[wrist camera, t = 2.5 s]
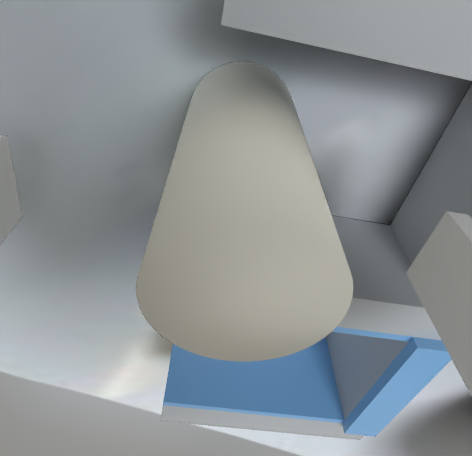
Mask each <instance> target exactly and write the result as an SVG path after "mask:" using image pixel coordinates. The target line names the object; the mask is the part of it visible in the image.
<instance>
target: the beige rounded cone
mask: <svg viewBox="0 0 472 456" xmlns="http://www.w3.org/2000/svg"><path fill="white" fill-rule="evenodd" d="M136 294H137V300H138V304H139V307H140V309H141V311H142V313H143V315H144V317H145V318H146V320H147V321H148V323H149V324H150V325H151V326H152V327H153V328H154V330H155V331H157V332H158V333H159V334H160V335H161V336H162V337H164V338H165V339H167V340H168V341H170V342H171V343H173V344H175V345H176V346H178V347H180V348H182V349H184V350H187V351H189V352H192V353H195V354H198V355H201V356H204V357H208V358H213V359H218V360H225V361H237V362H250V361H263V360H269V359H275V358H279V357H284V356H287V355H290V354H294V353H296V352H299V351H301V350H304V349H306V348H308V347H310V346H312V345H314V344H316V343H317V342H319V341H320V340H322V339H323V338H325V337H326V336H327V335H328V334H329V333H331V332H332V331H333V330H334V329H335V328H336V327H337V326H338V325H339V324H340V322H341V321H342V319H343V318H344V317H345V315H346V313H347V311H348V309H349V307H350V304H351V300H352V297H353V279H352V275H351V272H350V269H349V265H348V263H347V260H346V257H345V254H344V251H343V248H342V245H341V242H340V239H339V236H338V233H337V230H336V227H335V224H334V221H333V218H332V215H331V212H330V209H329V207H328V204H327V201H326V198H325V195H324V192H323V189H322V186H321V183H320V180H319V177H318V174H317V171H316V168H315V165H314V162H313V159H312V156H311V153H310V150H309V148H308V145H307V142H306V139H305V136H304V133H303V130H302V127H301V124H300V121H299V118H298V115H297V112H296V109H295V106H294V103H293V100H292V97H291V94H290V92H289V90H288V88H287V86H286V85H285V83H284V82H283V81H282V79H281V78H280V77H279V76H278V75H277V74H275V73H274V72H273V71H271V70H270V69H268V68H267V67H264V66H262V65H260V64H256V63H253V62H246V61H238V62H231V63H227V64H224V65H222V66H219V67H217V68H215V69H214V70H212V71H211V72H209V73H208V74H207V75H206V76H205V77H204V78H203V79H202V80H201V81H200V83H199V84H198V85H197V87H196V89H195V91H194V93H193V95H192V98H191V101H190V105H189V108H188V111H187V115H186V118H185V121H184V125H183V128H182V131H181V135H180V138H179V141H178V144H177V148H176V151H175V154H174V158H173V161H172V164H171V168H170V171H169V174H168V178H167V181H166V184H165V188H164V191H163V194H162V197H161V201H160V204H159V207H158V211H157V214H156V217H155V221H154V224H153V227H152V231H151V234H150V237H149V240H148V244H147V247H146V250H145V254H144V257H143V260H142V264H141V267H140V270H139V274H138V277H137V284H136Z"/></svg>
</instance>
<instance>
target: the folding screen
mask: <svg viewBox="0 0 472 456" xmlns="http://www.w3.org/2000/svg"><path fill="white" fill-rule="evenodd" d="M221 25H222V26H227V27H231V28H236V29H240V30H245V31H249V32H254V33H258V34H263V35H267V36H272V37H276V38H281V39H285V40H290V41H294V42H299V43H303V44H308V45H312V46H317V47H321V48H326V49H330V50H335V51H339V52H344V53H348V54H353V55H357V56H362V57H366V58H371V59H375V60H380V61H384V62H389V63H393V64H398V65H402V66H407V67H411V68H416V69H420V70H425V71H429V72H434V73H438V74H443V75H447V76H452V77H456V78H461V79H465V80H470V81H472V0H224V6H223V13H222V20H221ZM446 211H449V212H455V213H461V214H467V215H469V216H470V217H471V218H472V84H471V86H470V88H469V89H468V91H467V93H466V95H465V96H464V98H463V100H462V102H461V103H460V105H459V107H458V108H457V110H456V112H455V114H454V115H453V117H452V119H451V121H450V122H449V124H448V126H447V128H446V129H445V131H444V133H443V135H442V136H441V138H440V140H439V141H438V143H437V145H436V147H435V148H434V150H433V152H432V154H431V155H430V157H429V159H428V161H427V162H426V164H425V166H424V168H423V169H422V171H421V173H420V174H419V176H418V178H417V180H416V181H415V183H414V185H413V187H412V188H411V190H410V192H409V194H408V195H407V197H406V199H405V201H404V202H403V204H402V206H401V207H400V209H399V211H398V213H397V214H396V216H395V218H394V220H393V221H392V223H391V225H385V224H379V223H373V222H367V221H361V220H355V219H349V218H343V217H337V216H332V218H333V221H334V224H335V227H336V230H337V233H338V236H339V239H340V242H341V245H342V248H343V251H344V254H345V257H346V260H347V263H348V265H349V269H350V272H351V275H352V279H353V297H352V300H351V304H350V307H349V309H348V311H347V313H346V315H345V317H344V318H343V319H342V321H341V322H340V324H339V325H338V326H337V327H336V328H335V329H334V330H333V331H332V332H331V333H329V334H328V335H327V336H326V337H325V338H323V339H322V340H320V341H319V342H317V343H316V344H314V345H312V346H310V347H308V348H306V349H304V350H301V351H299V352H296V353H294V354H290V355H287V356H284V357H279V358H275V359H269V360H263V361H250V362H237V361H225V360H218V359H213V358H208V357H204V356H201V355H198V354H195V353H192V352H189V351H187V350H184V349H182V348H180V347H178V346H176V345H175V344H173V347H172V353H171V359H170V366H169V372H168V378H167V384H166V390H165V396H164V402H163V409H162V415H161V421H167V422H178V423H188V424H199V425H209V426H219V427H230V428H240V429H251V430H261V431H272V432H282V433H293V434H303V435H314V436H324V437H335V438H345V439H356V440H360V439H361V438H362V437H363V436H364V435H365V436H376V435H377V434H378V433H379V432H380V431H381V430H382V429H383V428H384V427H385V426H386V425H387V424H388V423H389V422H390V421H391V420H392V419H393V418H394V417H395V416H396V415H397V414H398V413H399V412H400V411H401V410H402V409H403V408H404V407H405V406H406V405H407V404H408V403H409V402H410V401H411V400H412V399H413V398H414V397H415V396H416V395H417V394H418V393H419V392H420V391H421V390H422V389H423V388H424V387H425V386H426V385H427V384H428V383H429V382H430V381H431V380H432V379H433V378H434V377H435V376H436V375H437V373H438V372H439V371H440V370H441V369H442V368H443V367H444V366H445V365H446V364H447V363H448V362H449V361H450V360H451V357H450V355H449V353H448V351H447V349H446V347H445V346H444V344H443V342H442V340H441V338H440V336H439V334H438V332H437V331H436V329H435V327H434V325H433V323H432V321H431V319H430V317H429V315H428V314H427V312H426V310H425V308H424V306H423V304H422V302H421V300H420V299H419V297H418V295H417V293H416V291H415V289H414V287H413V285H412V284H411V282H410V280H409V278H408V276H407V274H406V272H407V270H408V269H409V267H410V266H411V264H412V263H413V261H414V260H415V258H416V257H417V255H418V254H419V252H420V251H421V249H422V248H423V246H424V245H425V243H426V242H427V240H428V239H429V237H430V236H431V234H432V233H433V231H434V230H435V228H436V227H437V225H438V223H439V222H440V220H441V219H442V217H443V216H444V214H445V213H446Z"/></svg>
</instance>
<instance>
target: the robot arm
mask: <svg viewBox="0 0 472 456" xmlns="http://www.w3.org/2000/svg"><path fill="white" fill-rule="evenodd" d="M22 217H23V216H22V211H21V206H20V200H19V195H18V190H17V185H16V179H15V174H14V169H13V164H12V158H11V153H10V148H9V143H8V137H7V136H5V135H0V245H1V244H2V242H3V241H4V240H5V239H6V237H7V236H8V235H9V233H10V232H11V231H12V230H13V228H14V227H15V226H16V225H17V223H18V222H19V221H20V220H21V218H22ZM406 274H407V276H408V278H409V280H410V282H411V284H412V285H413V287H414V289H415V291H416V293H417V295H418V297H419V299H420V300H421V302H422V304H423V306H424V308H425V310H426V312H427V314H428V315H429V317H430V319H431V321H432V323H433V325H434V327H435V329H436V331H437V332H438V334H439V336H440V338H441V340H442V342H443V344H444V346H445V347H446V349H447V351H448V353H449V355H450V357H451V359H452V361H453V362H454V364H455V366H456V368H457V370H458V372H459V374H460V376H461V377H462V379H463V381H464V383H465V385H466V387H467V389H468V391H469V392H470V394H471V396H472V218H471V217H470V216H469V215H467V214H461V213H455V212H449V211H446V213H445V214H444V216H443V217H442V219H441V220H440V222H439V223H438V225H437V227H436V228H435V230H434V231H433V233H432V234H431V236H430V237H429V239H428V240H427V242H426V243H425V245H424V246H423V248H422V249H421V251H420V252H419V254H418V255H417V257H416V258H415V260H414V261H413V263H412V264H411V266H410V267H409V269H408V270H407V272H406Z"/></svg>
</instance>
